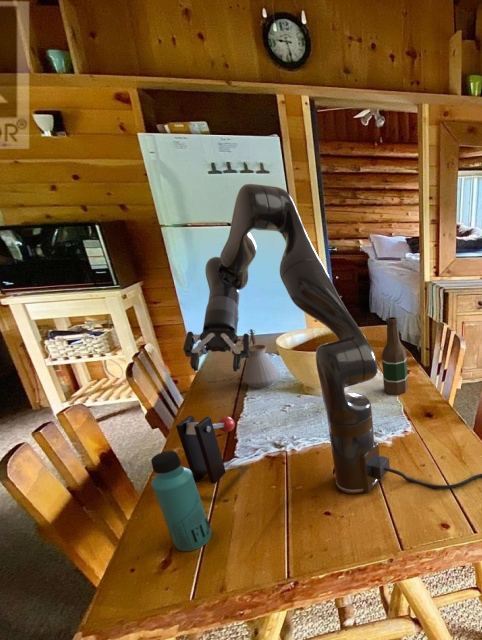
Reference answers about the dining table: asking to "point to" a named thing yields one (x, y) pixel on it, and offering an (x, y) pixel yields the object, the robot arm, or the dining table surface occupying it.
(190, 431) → the tap lever
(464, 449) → the dining table surface
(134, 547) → the dining table surface
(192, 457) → the tap bracket
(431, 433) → the dining table surface
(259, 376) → the coffee pot
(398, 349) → the beer bottle
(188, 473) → the beverage bottle
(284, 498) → the dining table surface
